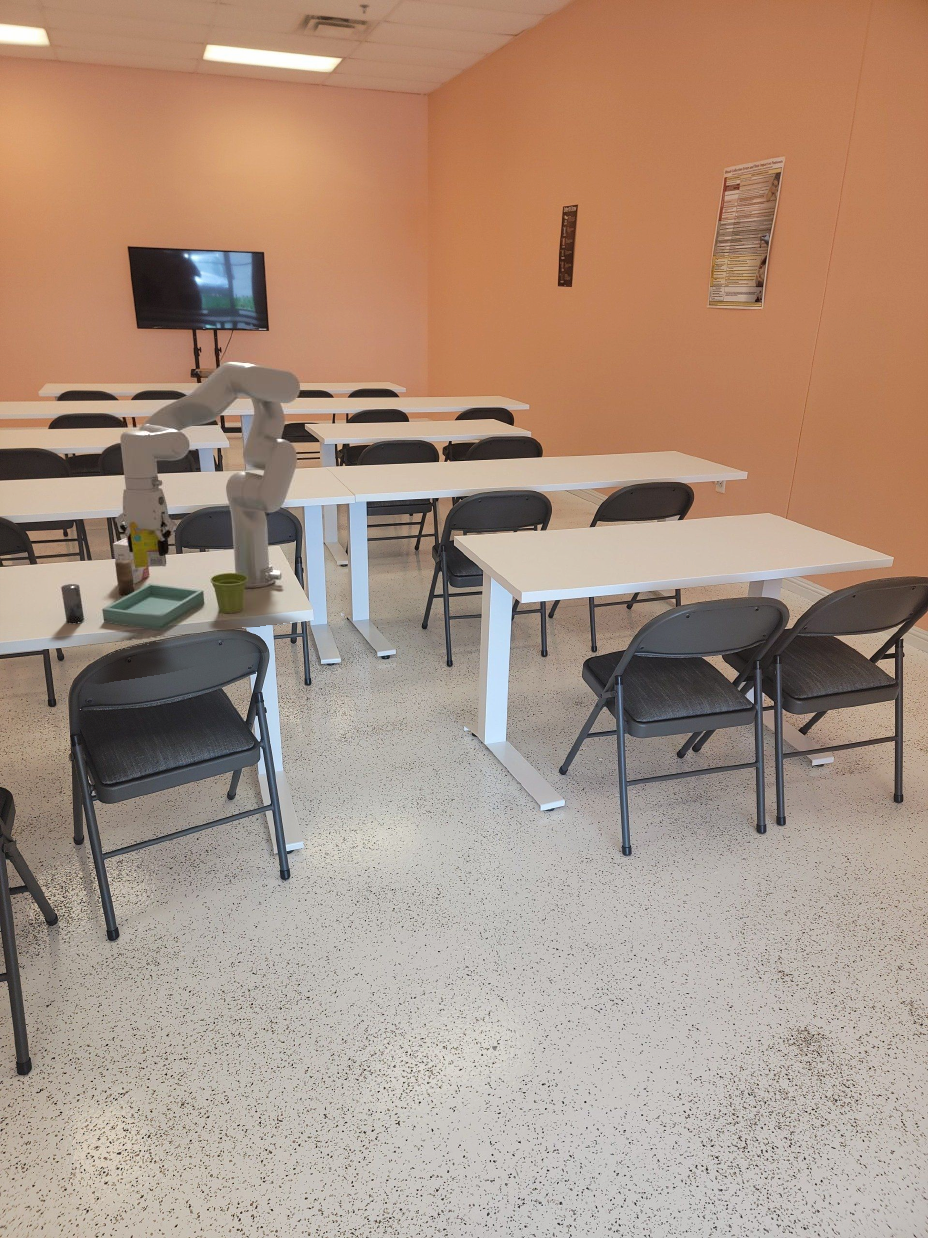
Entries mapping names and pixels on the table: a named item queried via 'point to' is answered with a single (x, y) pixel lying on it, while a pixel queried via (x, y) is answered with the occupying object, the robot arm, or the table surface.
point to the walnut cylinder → (124, 577)
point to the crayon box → (145, 547)
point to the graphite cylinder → (72, 603)
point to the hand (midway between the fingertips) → (149, 552)
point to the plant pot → (229, 591)
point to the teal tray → (153, 606)
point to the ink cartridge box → (124, 554)
